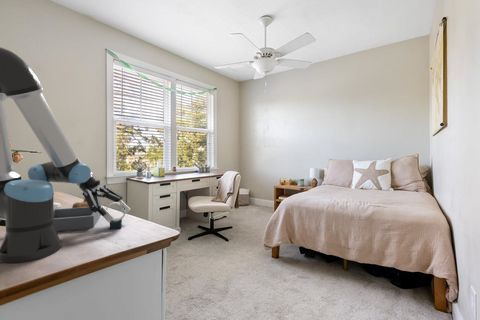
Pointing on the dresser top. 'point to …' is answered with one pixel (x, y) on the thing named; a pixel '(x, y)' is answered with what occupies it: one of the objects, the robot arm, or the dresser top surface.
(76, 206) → the lion figurine
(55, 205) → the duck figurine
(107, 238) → the dresser top surface
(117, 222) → the watch
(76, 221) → the tray
